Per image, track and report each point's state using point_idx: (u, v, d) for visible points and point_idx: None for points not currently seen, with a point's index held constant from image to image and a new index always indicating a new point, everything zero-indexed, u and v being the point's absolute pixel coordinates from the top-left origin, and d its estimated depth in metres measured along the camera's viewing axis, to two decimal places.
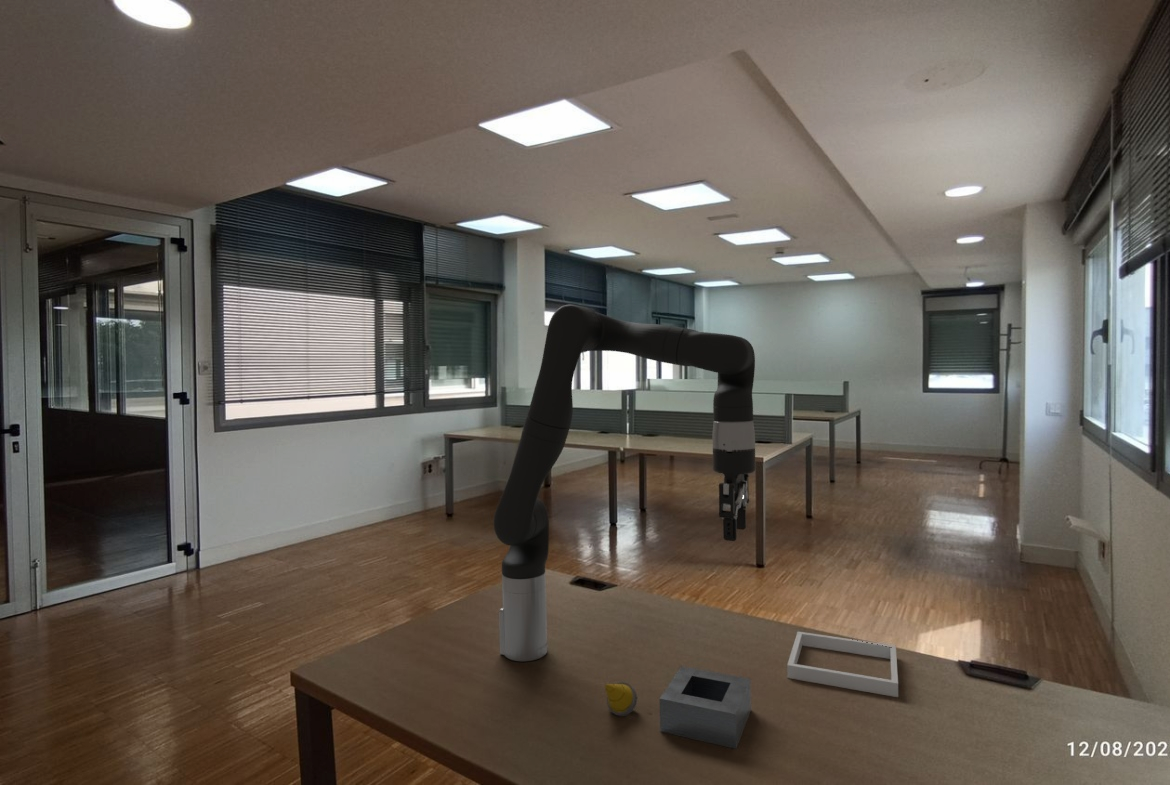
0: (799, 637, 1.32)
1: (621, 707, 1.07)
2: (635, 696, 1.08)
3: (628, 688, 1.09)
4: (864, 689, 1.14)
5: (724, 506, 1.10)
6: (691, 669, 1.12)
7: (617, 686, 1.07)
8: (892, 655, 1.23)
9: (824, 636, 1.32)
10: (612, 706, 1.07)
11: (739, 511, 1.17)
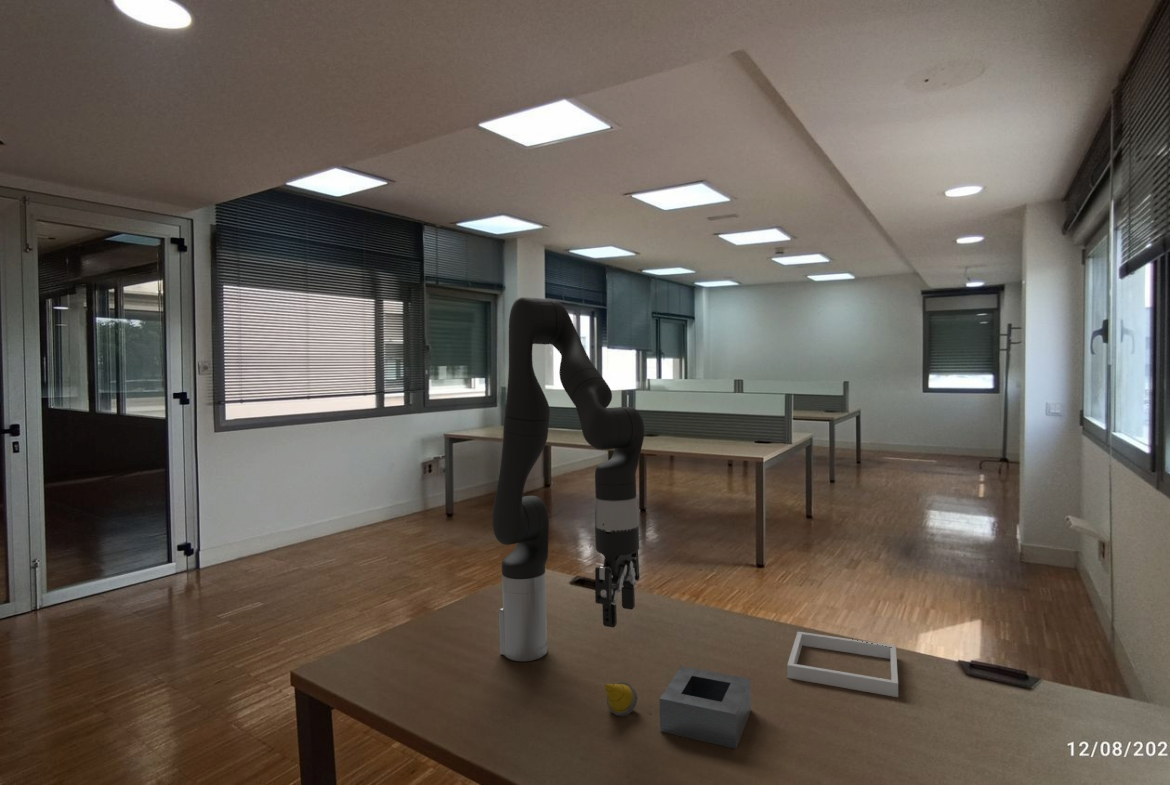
0: (799, 637, 1.32)
1: (621, 707, 1.07)
2: (635, 696, 1.08)
3: (628, 688, 1.09)
4: (864, 689, 1.14)
5: (603, 590, 1.04)
6: (691, 669, 1.12)
7: (617, 686, 1.07)
8: (892, 655, 1.23)
9: (824, 636, 1.32)
10: (612, 706, 1.07)
11: (627, 590, 1.11)
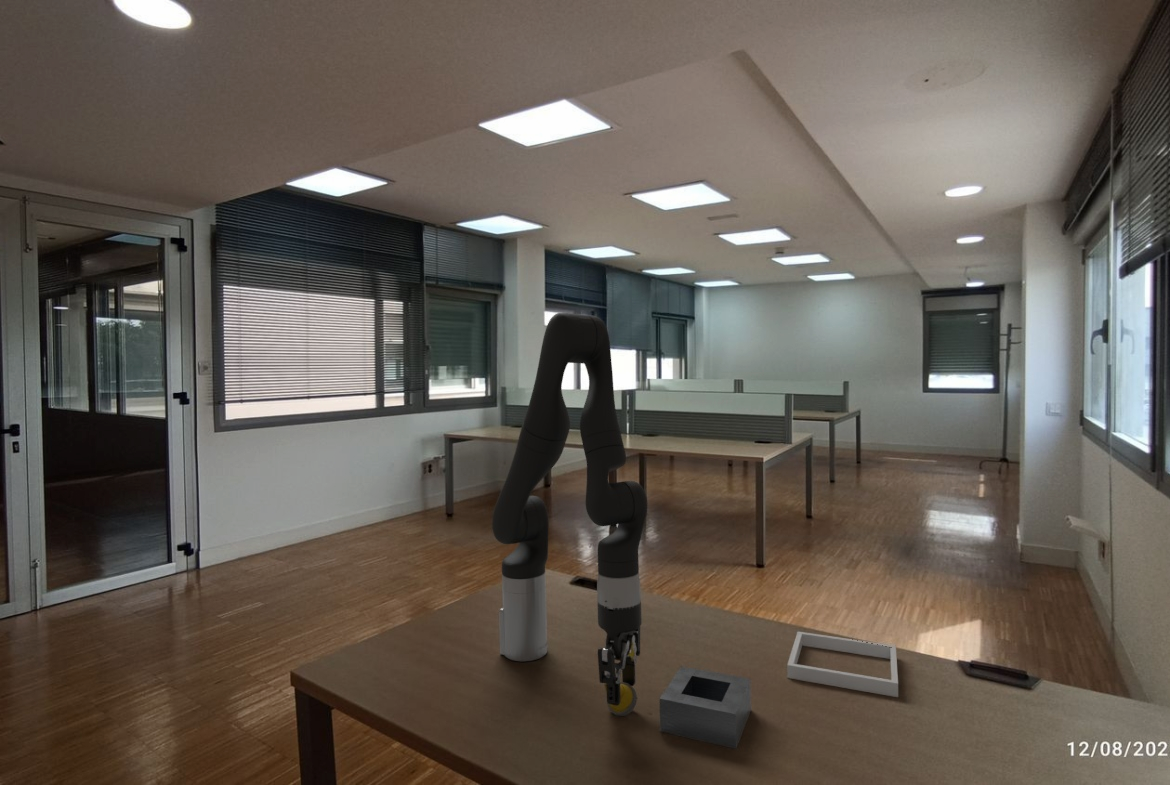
0: (799, 637, 1.32)
1: (621, 707, 1.07)
2: (635, 696, 1.08)
3: (628, 688, 1.09)
4: (864, 689, 1.14)
5: None
6: (691, 669, 1.12)
7: None
8: (892, 655, 1.23)
9: (824, 636, 1.32)
10: (612, 706, 1.07)
11: (628, 666, 1.11)
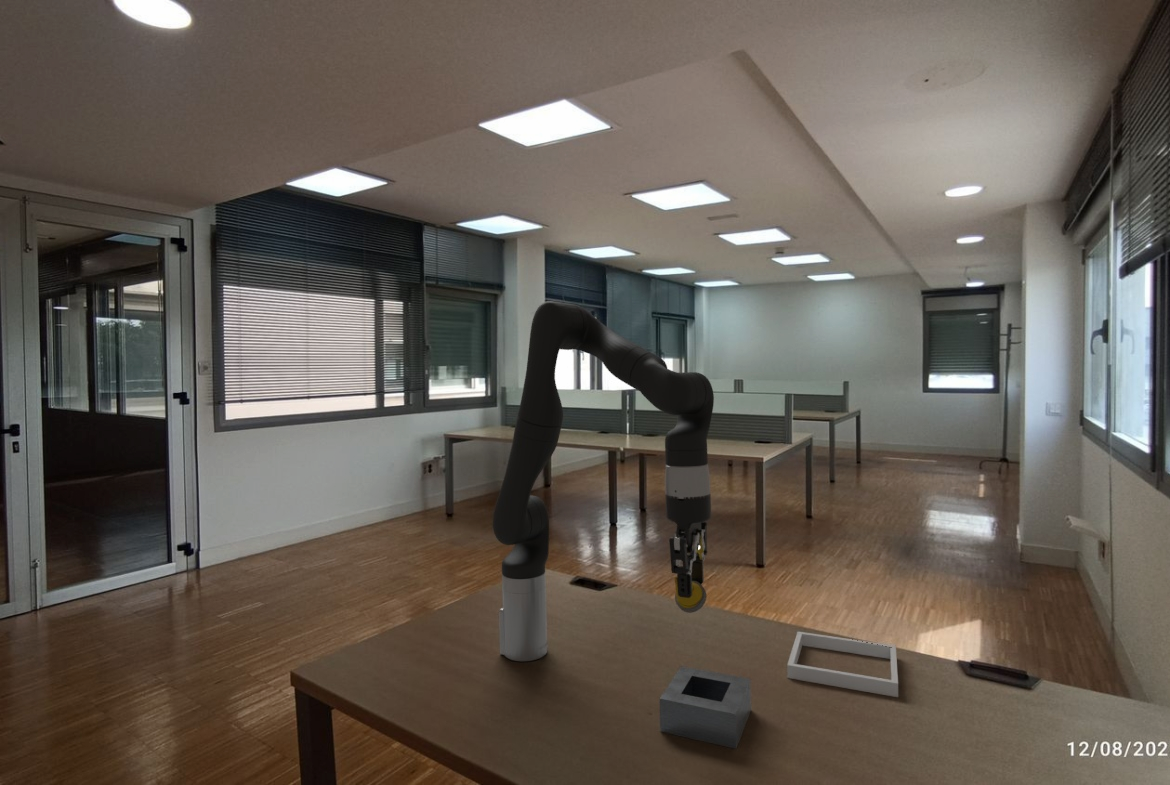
0: (799, 637, 1.32)
1: (691, 602, 1.04)
2: (705, 592, 1.05)
3: (697, 585, 1.06)
4: (864, 689, 1.14)
5: (678, 560, 1.02)
6: (691, 669, 1.12)
7: None
8: (892, 655, 1.23)
9: (824, 636, 1.32)
10: (681, 602, 1.04)
11: (695, 564, 1.08)
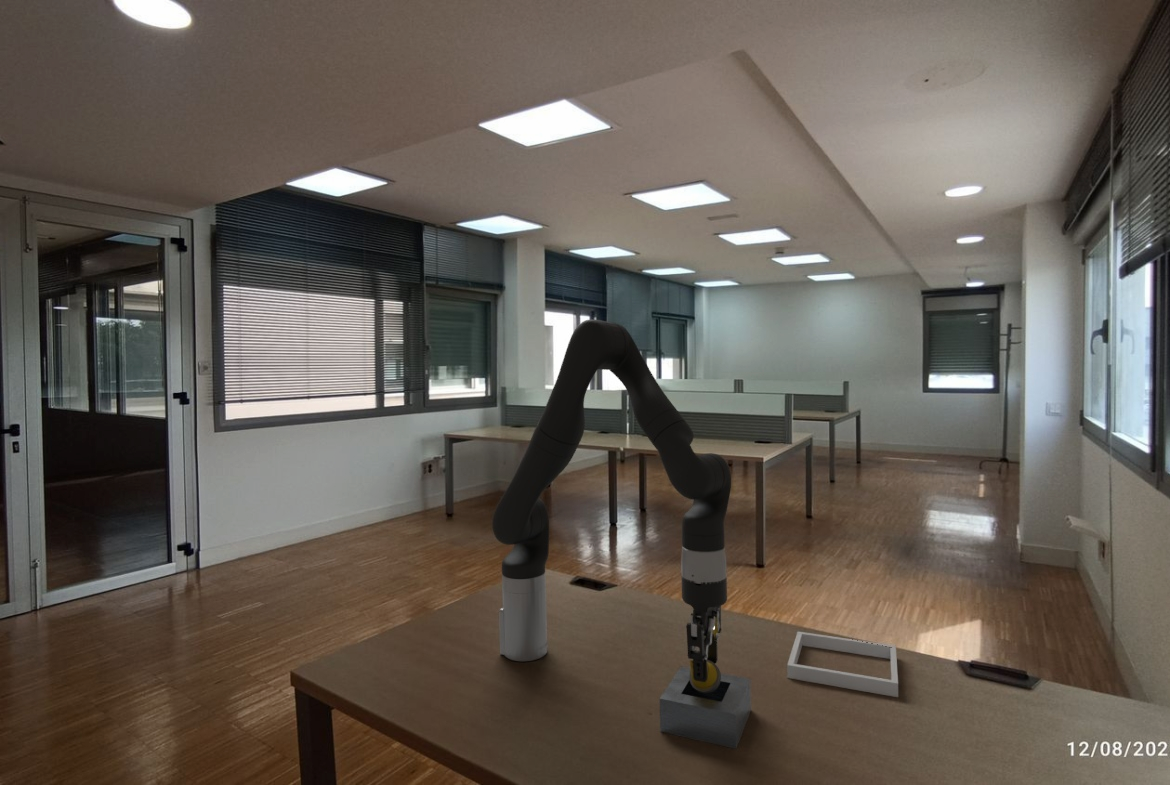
0: (799, 637, 1.32)
1: (706, 684, 1.04)
2: (719, 673, 1.06)
3: (712, 665, 1.06)
4: (864, 689, 1.14)
5: None
6: None
7: None
8: (892, 655, 1.23)
9: (824, 636, 1.32)
10: (696, 683, 1.05)
11: None
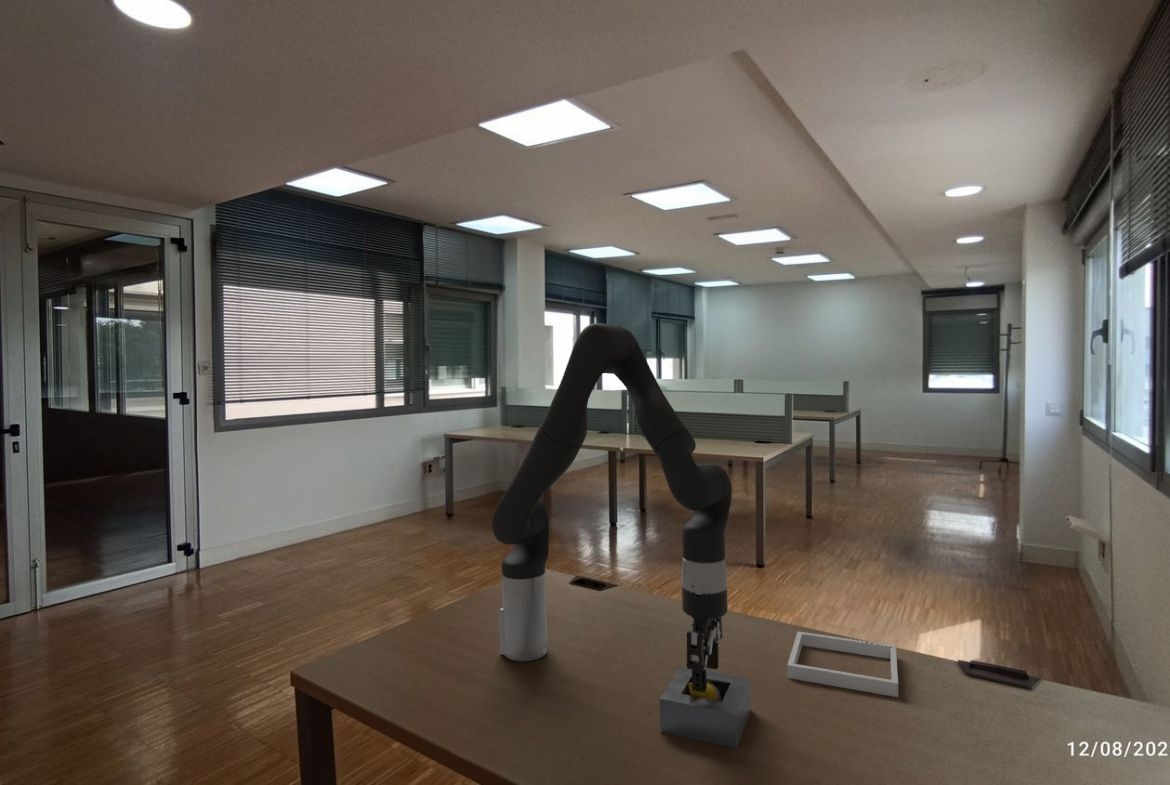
0: (799, 637, 1.32)
1: None
2: (719, 697, 1.05)
3: (712, 688, 1.06)
4: (864, 689, 1.14)
5: None
6: (691, 669, 1.12)
7: None
8: (892, 655, 1.23)
9: (824, 636, 1.32)
10: None
11: (711, 649, 1.09)
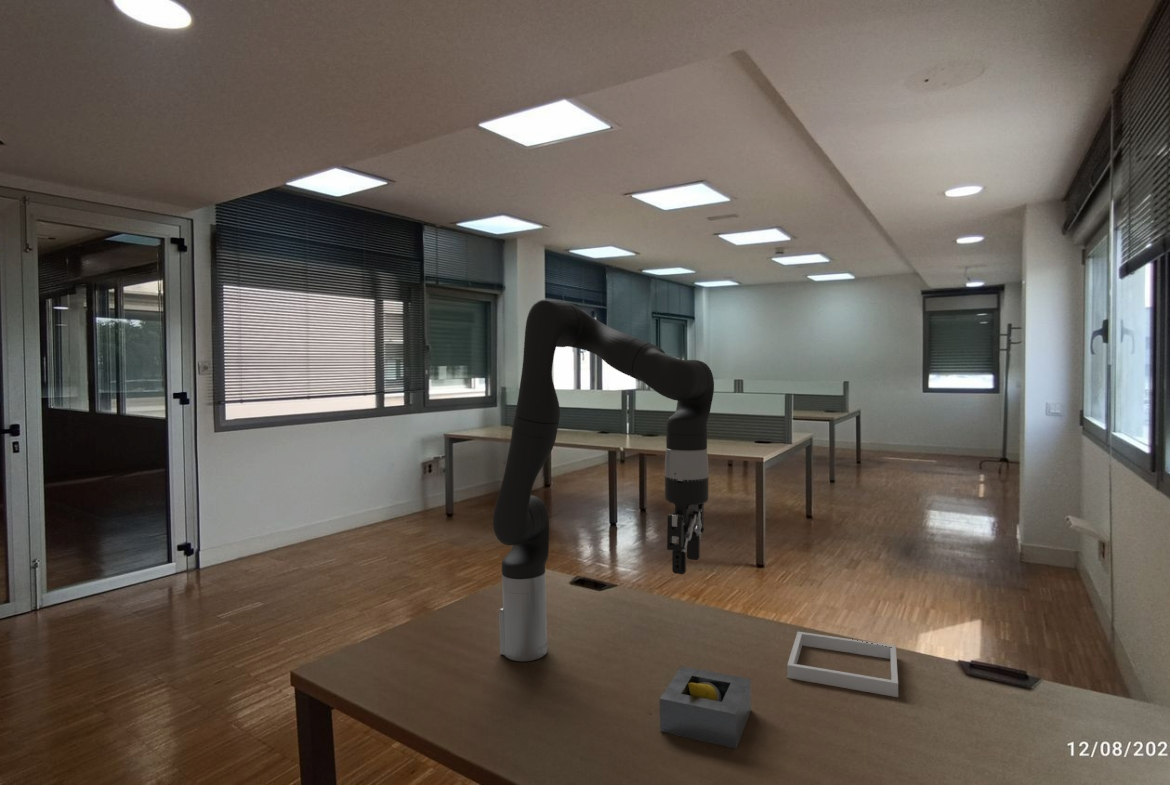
0: (799, 637, 1.32)
1: None
2: (719, 697, 1.05)
3: (712, 688, 1.06)
4: (864, 689, 1.14)
5: (674, 538, 1.06)
6: (691, 669, 1.12)
7: (701, 685, 1.04)
8: (892, 655, 1.23)
9: (824, 636, 1.32)
10: None
11: (692, 541, 1.13)
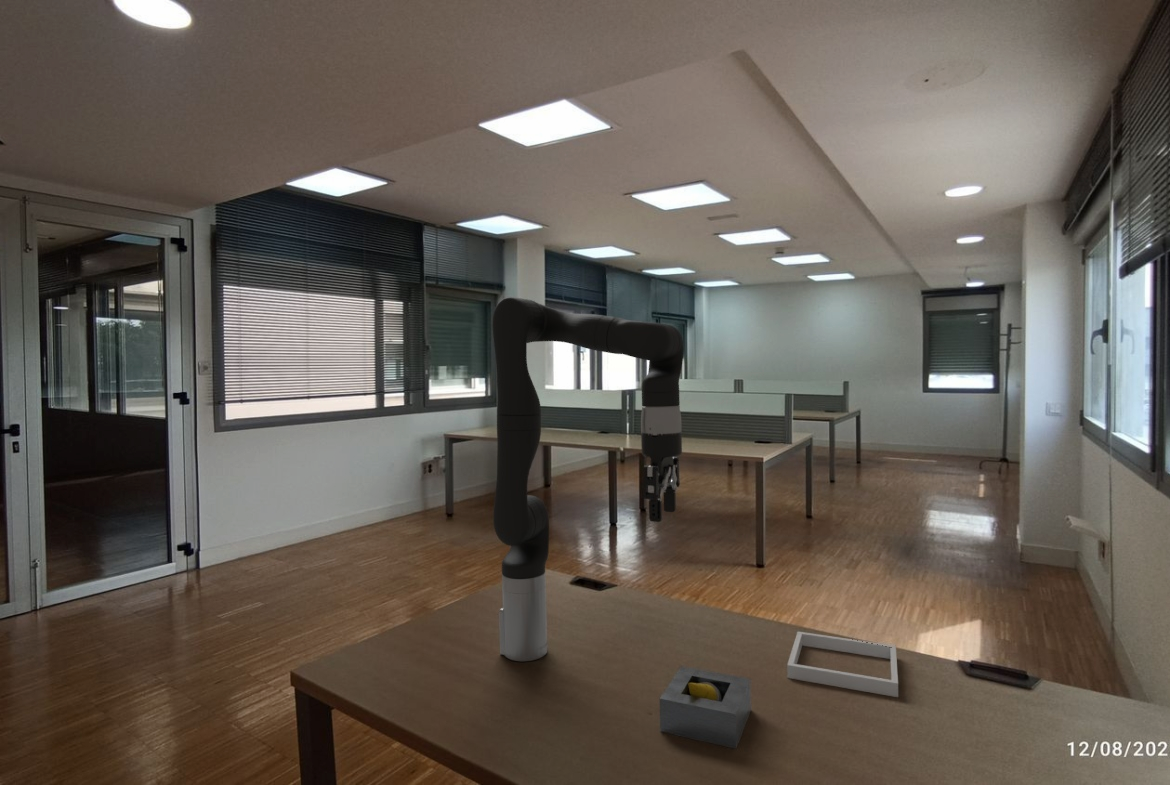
0: (799, 637, 1.32)
1: None
2: (719, 697, 1.05)
3: (712, 688, 1.06)
4: (864, 689, 1.14)
5: (650, 488, 1.14)
6: (691, 669, 1.12)
7: (701, 685, 1.04)
8: (892, 655, 1.23)
9: (824, 636, 1.32)
10: None
11: (669, 494, 1.21)
